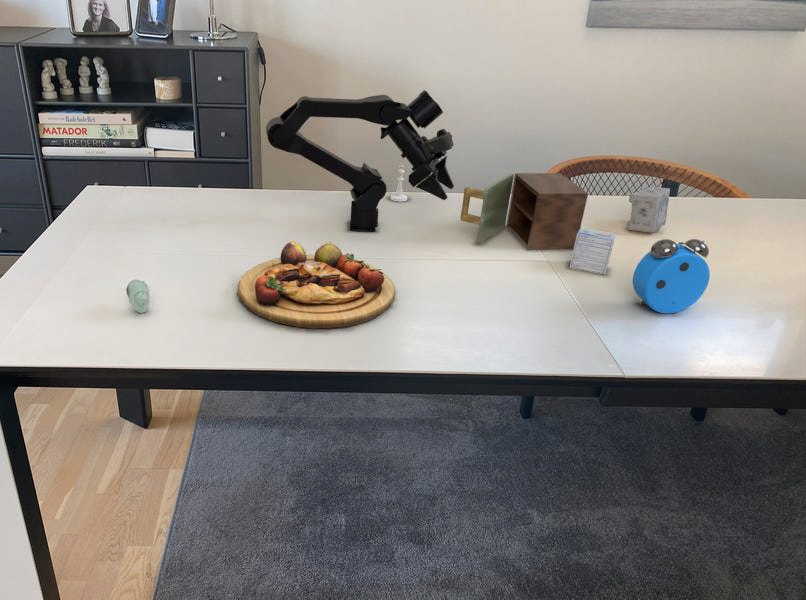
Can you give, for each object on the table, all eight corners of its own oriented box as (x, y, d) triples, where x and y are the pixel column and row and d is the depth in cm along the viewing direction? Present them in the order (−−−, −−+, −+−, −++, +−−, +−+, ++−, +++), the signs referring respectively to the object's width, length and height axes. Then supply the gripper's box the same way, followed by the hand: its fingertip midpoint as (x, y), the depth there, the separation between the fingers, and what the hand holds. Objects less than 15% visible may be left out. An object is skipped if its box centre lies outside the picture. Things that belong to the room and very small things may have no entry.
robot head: (152, 321, 131) (149, 288, 128) (130, 323, 130) (126, 290, 127) (149, 302, 138) (146, 270, 134) (128, 304, 137) (124, 272, 133)
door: (454, 237, 173) (462, 183, 166) (481, 220, 185) (489, 169, 178) (479, 244, 170) (487, 189, 163) (505, 226, 182) (514, 174, 175)
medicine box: (607, 268, 161) (616, 232, 157) (604, 275, 158) (614, 239, 153) (572, 261, 164) (580, 226, 159) (568, 268, 160) (577, 232, 156)
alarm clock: (683, 301, 148) (705, 234, 140) (699, 315, 142) (723, 245, 135) (624, 302, 146) (643, 234, 138) (638, 316, 141) (659, 246, 133)
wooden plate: (275, 346, 125) (275, 304, 121) (216, 276, 149) (214, 240, 145) (425, 313, 138) (429, 274, 134) (348, 254, 162) (350, 220, 158)
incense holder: (633, 219, 191) (643, 182, 185) (664, 227, 186) (675, 189, 181) (620, 229, 184) (630, 190, 179) (652, 237, 180) (663, 197, 174)
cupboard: (528, 250, 169) (539, 193, 161) (505, 226, 182) (515, 173, 175) (575, 249, 170) (588, 193, 163) (549, 226, 184) (560, 173, 176)
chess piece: (407, 202, 196) (411, 166, 191) (390, 201, 196) (393, 165, 191) (406, 196, 200) (410, 161, 195) (389, 195, 200) (392, 160, 195)
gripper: (427, 128, 155) (470, 184, 158) (442, 112, 170) (481, 163, 174) (390, 159, 161) (432, 212, 164) (408, 141, 176) (446, 190, 180)
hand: (449, 193), depth 170 cm, fingers open, 9 cm apart
